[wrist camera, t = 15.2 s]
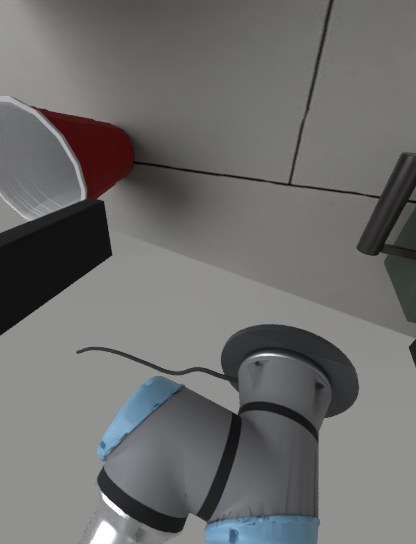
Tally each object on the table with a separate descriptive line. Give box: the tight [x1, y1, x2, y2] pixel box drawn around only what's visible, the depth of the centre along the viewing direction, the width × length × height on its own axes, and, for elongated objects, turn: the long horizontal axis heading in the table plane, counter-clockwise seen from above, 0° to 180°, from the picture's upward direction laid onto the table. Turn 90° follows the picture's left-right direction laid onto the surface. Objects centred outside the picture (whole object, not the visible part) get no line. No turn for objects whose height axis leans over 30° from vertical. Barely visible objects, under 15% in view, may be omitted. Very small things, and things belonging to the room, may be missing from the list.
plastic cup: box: [0, 96, 134, 221], centre depth 26 cm, size 11×11×12 cm
